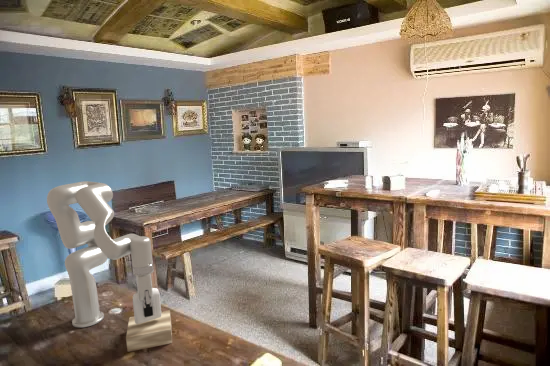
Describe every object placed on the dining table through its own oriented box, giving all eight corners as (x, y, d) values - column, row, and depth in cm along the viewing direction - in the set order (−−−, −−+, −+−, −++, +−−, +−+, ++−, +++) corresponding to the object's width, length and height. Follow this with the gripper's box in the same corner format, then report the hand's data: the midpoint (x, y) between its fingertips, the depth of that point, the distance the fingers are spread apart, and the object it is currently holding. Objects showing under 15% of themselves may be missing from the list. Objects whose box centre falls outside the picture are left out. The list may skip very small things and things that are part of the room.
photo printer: (159, 313, 155) (156, 284, 153) (163, 317, 151) (160, 287, 149) (133, 321, 149) (130, 291, 147) (136, 325, 146) (133, 295, 144)
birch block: (130, 330, 157) (129, 317, 156) (171, 323, 161) (169, 310, 160) (127, 352, 142) (125, 337, 141) (172, 343, 146) (170, 329, 145)
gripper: (131, 263, 153) (136, 306, 156) (134, 278, 138) (140, 325, 141) (150, 260, 156) (155, 301, 159) (156, 274, 141) (160, 320, 144)
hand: (147, 312), depth 150 cm, fingers closed on photo printer, 4 cm apart
